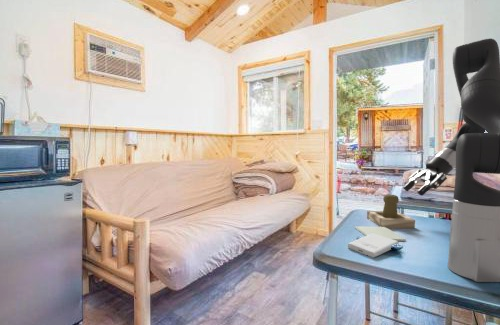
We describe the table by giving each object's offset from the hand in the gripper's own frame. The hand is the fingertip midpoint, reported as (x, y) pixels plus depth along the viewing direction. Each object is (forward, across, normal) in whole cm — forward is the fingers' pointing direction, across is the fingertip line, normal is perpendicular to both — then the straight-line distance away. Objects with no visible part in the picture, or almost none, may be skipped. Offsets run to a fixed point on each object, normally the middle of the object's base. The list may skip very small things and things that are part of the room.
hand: (411, 191), depth 101 cm
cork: (+14, 0, +3) cm, 15 cm away
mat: (+22, +13, -5) cm, 26 cm away
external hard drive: (+28, +25, -10) cm, 39 cm away
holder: (+14, 0, +3) cm, 15 cm away
